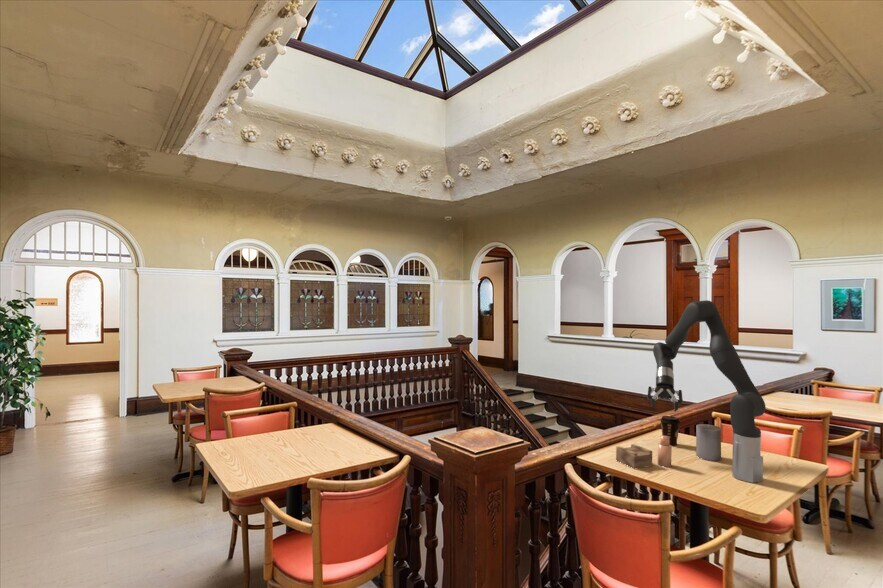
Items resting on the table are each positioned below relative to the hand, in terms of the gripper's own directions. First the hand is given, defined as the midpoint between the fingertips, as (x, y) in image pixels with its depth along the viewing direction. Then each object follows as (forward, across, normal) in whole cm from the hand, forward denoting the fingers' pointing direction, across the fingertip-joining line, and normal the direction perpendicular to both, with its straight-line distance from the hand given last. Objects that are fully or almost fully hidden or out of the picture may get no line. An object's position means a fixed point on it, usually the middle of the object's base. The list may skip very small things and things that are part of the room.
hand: (664, 409), depth 205 cm
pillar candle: (+9, +19, +21) cm, 30 cm away
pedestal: (+26, -12, +4) cm, 29 cm away
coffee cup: (0, +4, +31) cm, 31 cm away
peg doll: (+23, 0, +6) cm, 24 cm away
